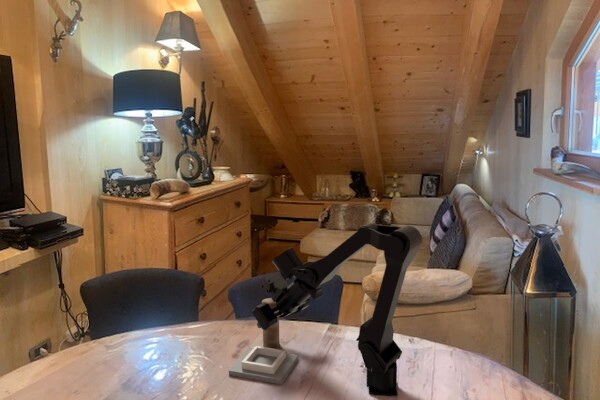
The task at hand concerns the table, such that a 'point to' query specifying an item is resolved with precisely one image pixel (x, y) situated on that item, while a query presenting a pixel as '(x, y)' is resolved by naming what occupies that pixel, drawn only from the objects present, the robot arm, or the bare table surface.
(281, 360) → the grey framed base plate
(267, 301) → the walnut post
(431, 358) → the table surface
